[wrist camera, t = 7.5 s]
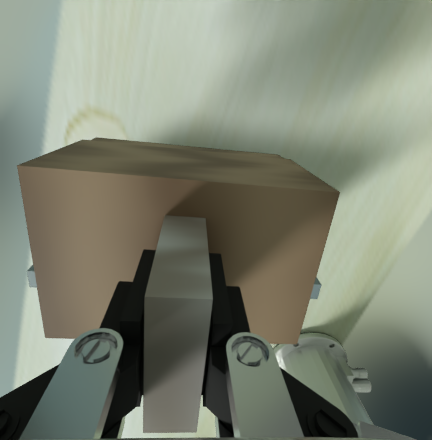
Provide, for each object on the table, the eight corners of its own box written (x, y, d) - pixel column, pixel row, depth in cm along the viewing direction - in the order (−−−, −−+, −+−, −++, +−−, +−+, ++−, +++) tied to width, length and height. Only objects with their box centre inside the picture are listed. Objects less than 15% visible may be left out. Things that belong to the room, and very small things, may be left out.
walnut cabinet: (279, 151, 20) (437, 257, 7) (259, 254, 23) (344, 459, 10) (96, 134, 18) (-128, 222, 6) (102, 245, 22) (-34, 465, 9)
